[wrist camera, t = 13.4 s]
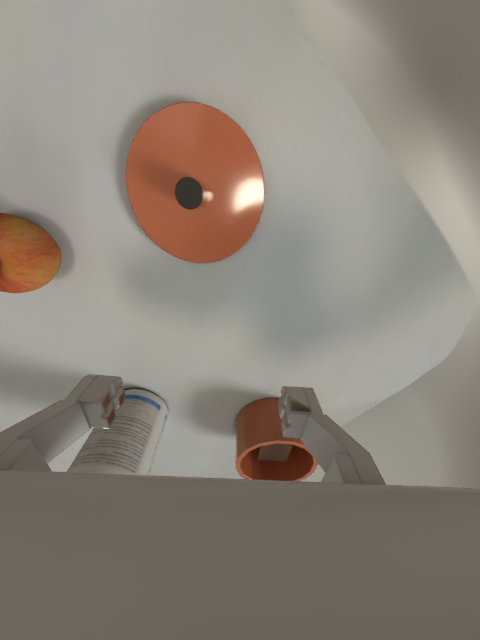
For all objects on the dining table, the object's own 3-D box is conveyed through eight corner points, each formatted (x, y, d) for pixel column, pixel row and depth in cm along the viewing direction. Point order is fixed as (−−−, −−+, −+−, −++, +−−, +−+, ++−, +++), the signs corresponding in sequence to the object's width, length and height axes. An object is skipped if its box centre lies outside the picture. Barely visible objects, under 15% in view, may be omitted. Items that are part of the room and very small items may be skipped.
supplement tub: (101, 394, 36) (24, 501, 23) (151, 380, 35) (99, 486, 22) (133, 428, 41) (84, 535, 28) (179, 417, 39) (149, 524, 26)
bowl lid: (273, 117, 19) (283, 96, 15) (254, 266, 26) (256, 278, 22) (120, 96, 19) (88, 68, 15) (139, 254, 25) (120, 264, 21)
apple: (90, 249, 25) (32, 269, 18) (59, 289, 27) (-4, 320, 20) (25, 193, 22) (-74, 190, 15) (-4, 243, 24) (-101, 260, 17)
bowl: (312, 400, 37) (328, 443, 30) (296, 443, 43) (306, 487, 36) (240, 395, 36) (240, 438, 30) (233, 440, 42) (232, 484, 36)
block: (287, 415, 38) (293, 443, 34) (281, 433, 41) (286, 461, 36) (259, 413, 38) (261, 441, 33) (255, 431, 40) (257, 460, 36)
